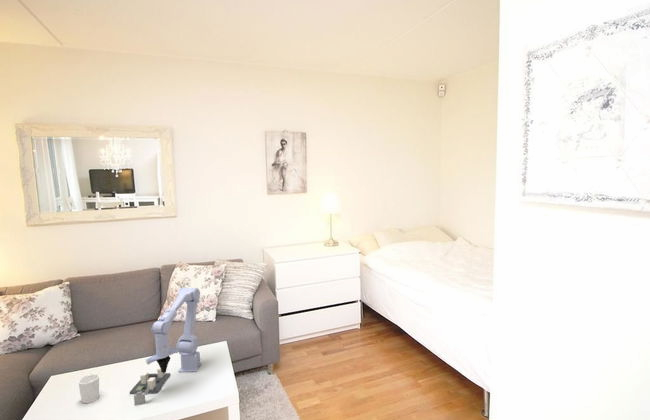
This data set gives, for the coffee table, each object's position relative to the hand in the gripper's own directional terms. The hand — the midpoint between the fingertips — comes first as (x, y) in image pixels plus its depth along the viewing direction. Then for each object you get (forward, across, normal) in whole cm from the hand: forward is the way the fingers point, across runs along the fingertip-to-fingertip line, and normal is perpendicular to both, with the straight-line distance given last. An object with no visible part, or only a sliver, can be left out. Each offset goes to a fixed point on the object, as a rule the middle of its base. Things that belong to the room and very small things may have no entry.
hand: (163, 371), depth 162 cm
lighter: (+10, +10, +2) cm, 14 cm away
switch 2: (+8, +4, -5) cm, 10 cm away
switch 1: (+8, +5, -12) cm, 15 cm away
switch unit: (+9, +3, -10) cm, 14 cm away
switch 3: (+8, -3, -11) cm, 14 cm away
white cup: (+10, +26, -21) cm, 35 cm away
